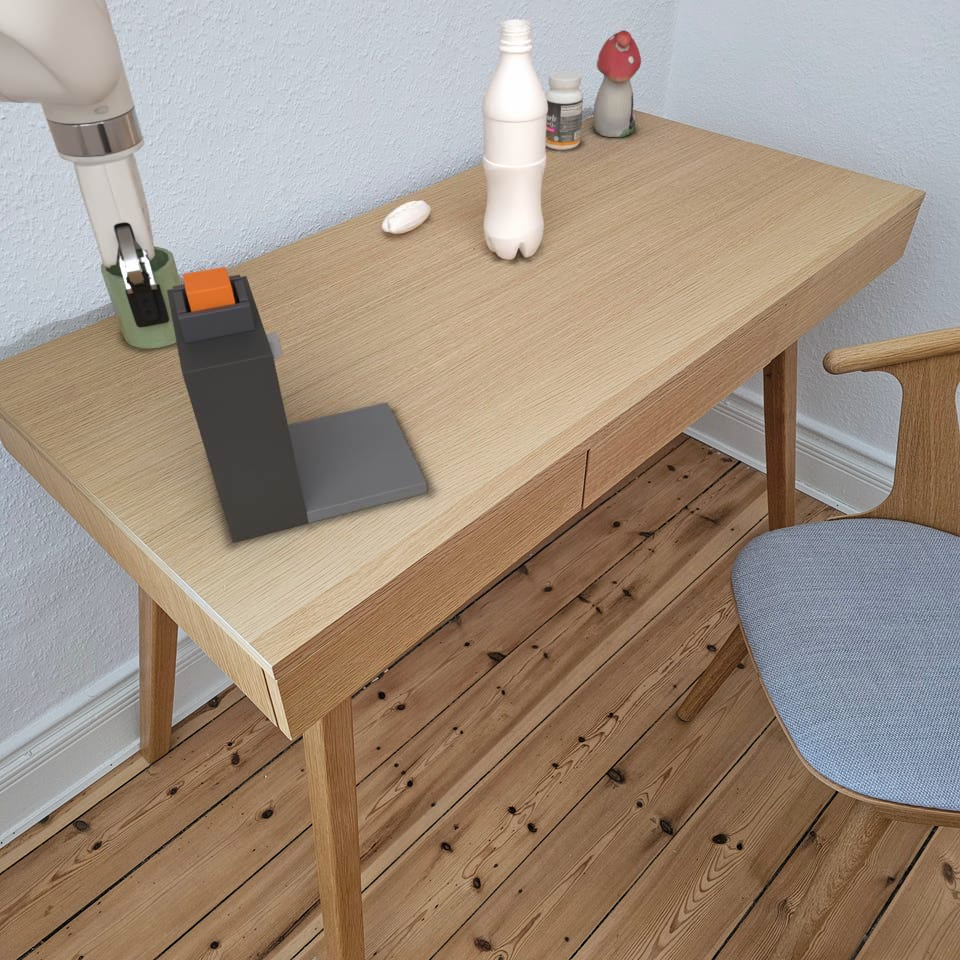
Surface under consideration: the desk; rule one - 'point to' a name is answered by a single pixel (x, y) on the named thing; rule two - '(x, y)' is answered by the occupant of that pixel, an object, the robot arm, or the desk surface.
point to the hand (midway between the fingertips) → (150, 304)
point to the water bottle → (514, 147)
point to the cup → (116, 288)
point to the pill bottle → (564, 110)
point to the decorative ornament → (616, 86)
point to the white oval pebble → (406, 217)
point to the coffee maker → (279, 428)
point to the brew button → (208, 289)
